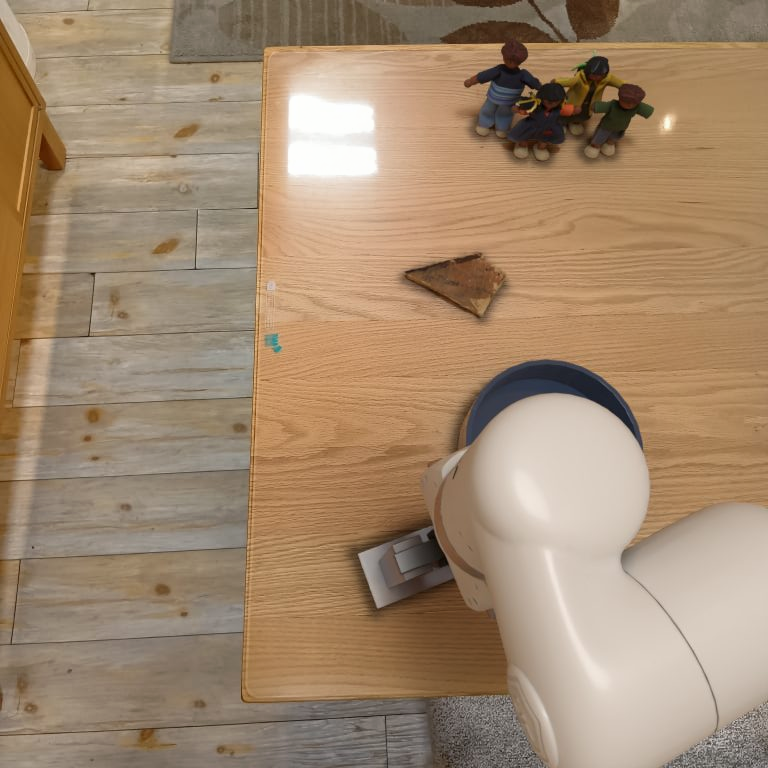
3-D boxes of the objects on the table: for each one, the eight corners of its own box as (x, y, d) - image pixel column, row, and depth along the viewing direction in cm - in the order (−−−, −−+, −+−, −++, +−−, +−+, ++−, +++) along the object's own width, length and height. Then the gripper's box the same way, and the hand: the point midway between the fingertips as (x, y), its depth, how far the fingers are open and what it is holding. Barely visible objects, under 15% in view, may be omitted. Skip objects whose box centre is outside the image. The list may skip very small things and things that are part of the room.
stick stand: (488, 564, 74) (541, 548, 55) (376, 609, 72) (390, 609, 53) (467, 512, 76) (511, 479, 57) (356, 554, 73) (364, 535, 54)
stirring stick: (514, 530, 55) (519, 527, 54) (399, 575, 54) (401, 574, 52) (506, 511, 56) (510, 508, 54) (391, 555, 54) (393, 554, 52)
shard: (402, 277, 84) (404, 270, 82) (433, 231, 86) (435, 224, 85) (479, 321, 83) (482, 315, 81) (508, 274, 85) (512, 267, 83)
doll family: (465, 170, 90) (486, 98, 77) (452, 114, 92) (471, 35, 80) (631, 154, 92) (678, 82, 79) (614, 100, 95) (657, 21, 82)
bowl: (652, 504, 77) (675, 497, 72) (498, 566, 74) (510, 563, 69) (578, 354, 82) (594, 337, 77) (432, 406, 79) (438, 392, 74)
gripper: (621, 626, 37) (531, 621, 55) (505, 370, 41) (455, 441, 59) (497, 680, 36) (444, 658, 53) (390, 410, 40) (374, 471, 58)
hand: (450, 544), depth 56 cm, fingers closed on stirring stick, 1 cm apart
